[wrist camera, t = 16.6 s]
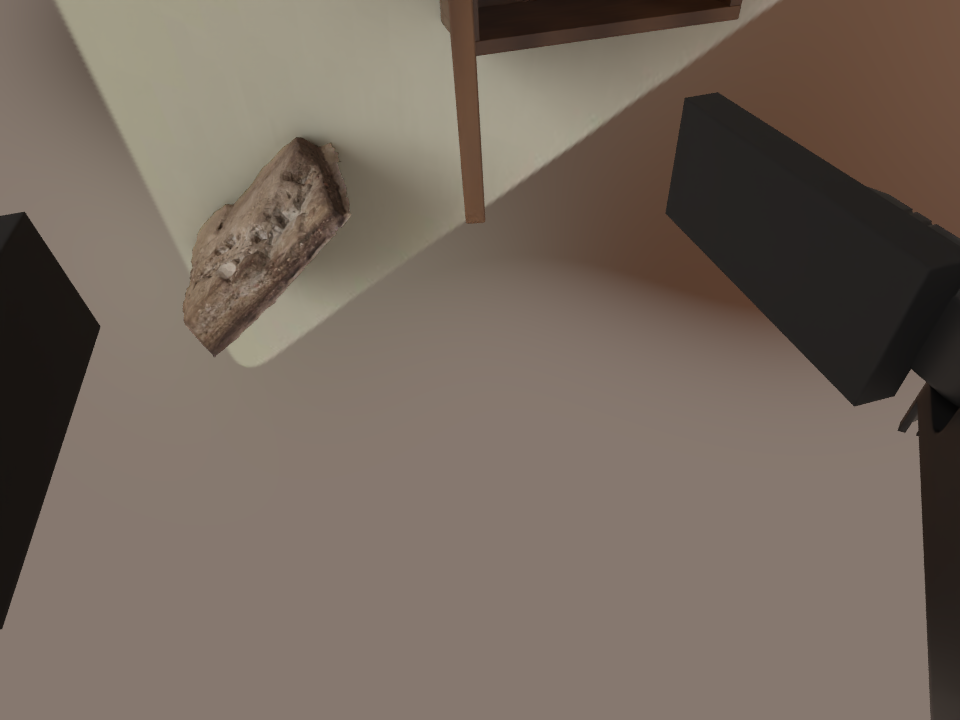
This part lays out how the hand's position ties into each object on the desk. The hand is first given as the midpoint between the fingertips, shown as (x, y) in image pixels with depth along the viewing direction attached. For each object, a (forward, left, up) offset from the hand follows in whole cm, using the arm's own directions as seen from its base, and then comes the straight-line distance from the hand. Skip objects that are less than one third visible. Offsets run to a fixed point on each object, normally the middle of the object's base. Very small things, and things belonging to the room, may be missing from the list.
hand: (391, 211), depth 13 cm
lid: (-6, 0, -20) cm, 21 cm away
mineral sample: (+9, +18, -39) cm, 44 cm away
